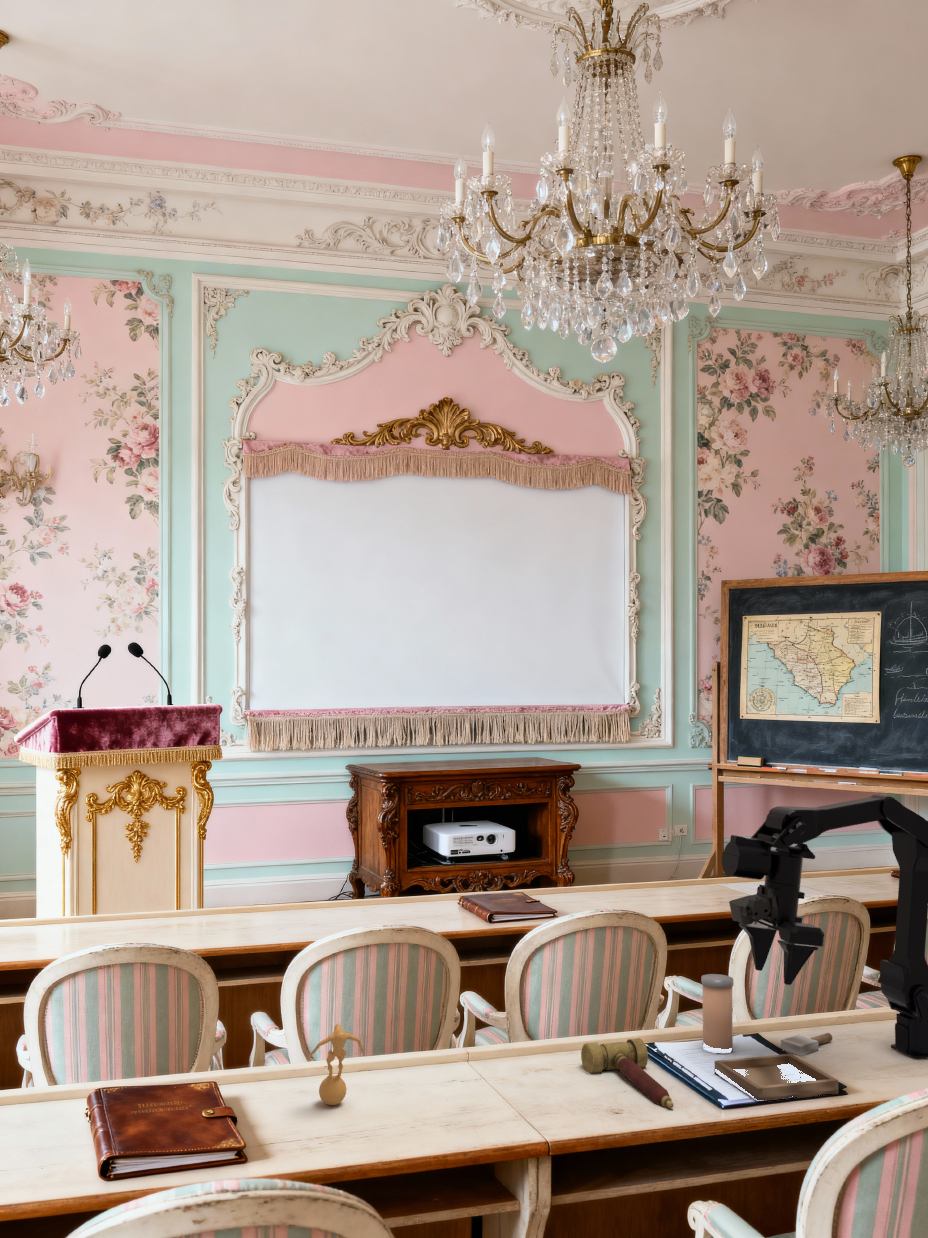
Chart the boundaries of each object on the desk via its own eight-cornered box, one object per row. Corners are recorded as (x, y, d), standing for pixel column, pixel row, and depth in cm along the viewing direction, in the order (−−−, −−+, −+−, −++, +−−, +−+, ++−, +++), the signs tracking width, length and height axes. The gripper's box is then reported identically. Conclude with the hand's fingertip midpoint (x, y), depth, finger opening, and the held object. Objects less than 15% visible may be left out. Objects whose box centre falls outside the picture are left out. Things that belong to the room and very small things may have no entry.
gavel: (702, 1087, 154) (641, 1094, 151) (701, 1118, 154) (640, 1126, 151) (635, 1034, 174) (580, 1039, 171) (635, 1061, 174) (580, 1067, 171)
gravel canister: (723, 1043, 183) (722, 973, 184) (739, 1053, 178) (739, 981, 179) (695, 1046, 182) (695, 975, 183) (711, 1056, 176) (711, 983, 177)
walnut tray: (790, 1066, 172) (790, 1053, 172) (838, 1094, 160) (838, 1080, 160) (714, 1073, 168) (714, 1061, 168) (758, 1102, 156) (758, 1088, 156)
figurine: (355, 1096, 156) (357, 1013, 157) (368, 1110, 151) (369, 1025, 152) (301, 1103, 153) (303, 1019, 154) (311, 1118, 147) (313, 1031, 148)
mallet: (819, 1038, 187) (819, 1029, 187) (838, 1044, 184) (838, 1035, 184) (780, 1049, 180) (780, 1040, 180) (800, 1056, 177) (800, 1046, 177)
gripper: (713, 869, 183) (703, 959, 182) (768, 887, 165) (757, 988, 163) (770, 875, 186) (760, 965, 184) (830, 894, 168) (820, 994, 166)
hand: (772, 977), depth 174 cm, fingers open, 9 cm apart
